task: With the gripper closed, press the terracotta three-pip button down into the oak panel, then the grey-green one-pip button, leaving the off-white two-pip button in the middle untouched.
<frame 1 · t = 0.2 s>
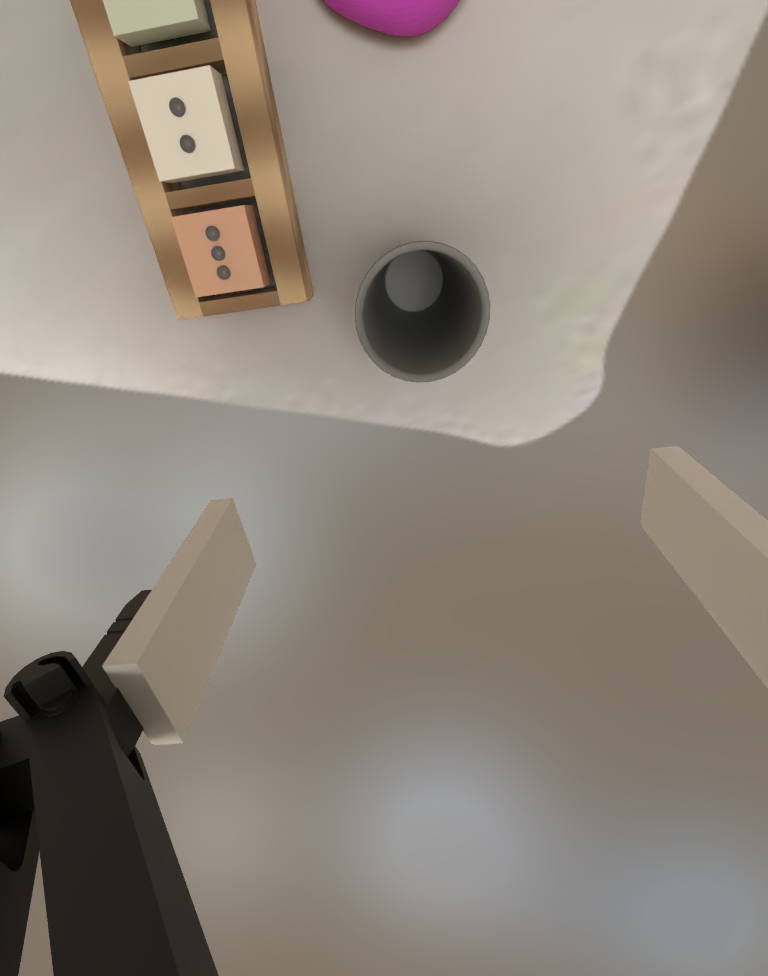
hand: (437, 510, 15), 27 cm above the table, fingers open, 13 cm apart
button 2: (189, 128, 30), point 4 cm above the table, slide at 0.0 cm
button 3: (223, 252, 33), point 4 cm above the table, slide at 0.0 cm
panel: (208, 136, 33), on the table
cup: (413, 280, 37), on the table
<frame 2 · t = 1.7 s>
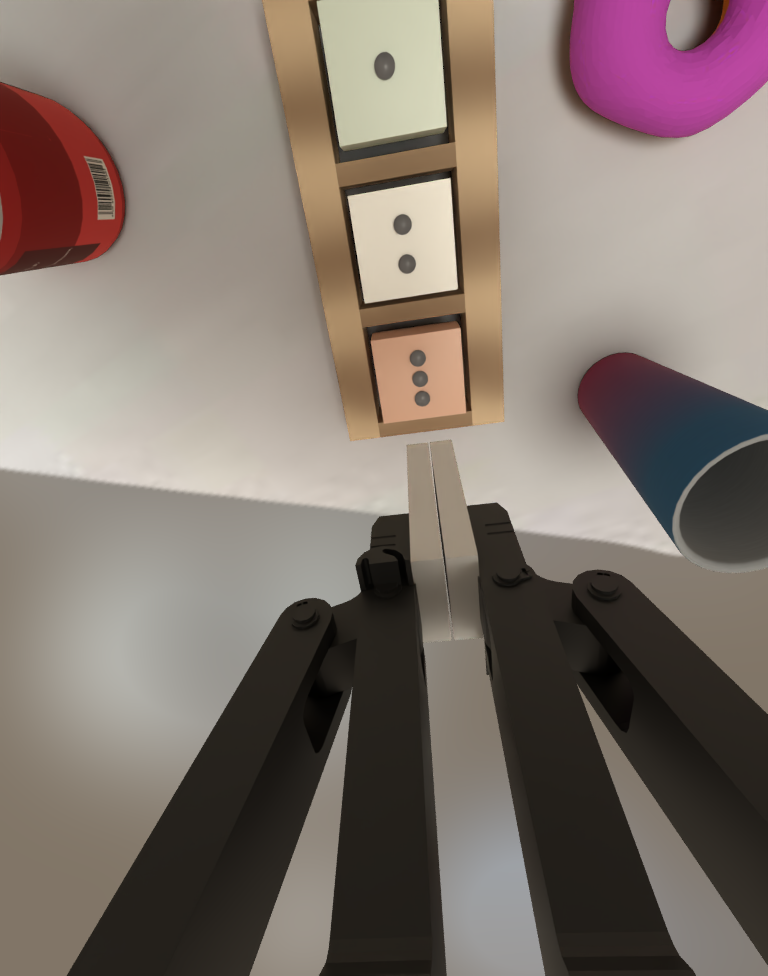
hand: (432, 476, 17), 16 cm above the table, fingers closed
button 2: (404, 243, 25), point 4 cm above the table, slide at 0.0 cm
button 3: (419, 373, 29), point 4 cm above the table, slide at 0.0 cm
button 1: (385, 72, 22), point 4 cm above the table, slide at 0.0 cm
panel: (404, 240, 28), on the table
canned food: (63, 184, 27), on the table
cup: (614, 388, 33), on the table
donut: (669, 13, 23), on the table
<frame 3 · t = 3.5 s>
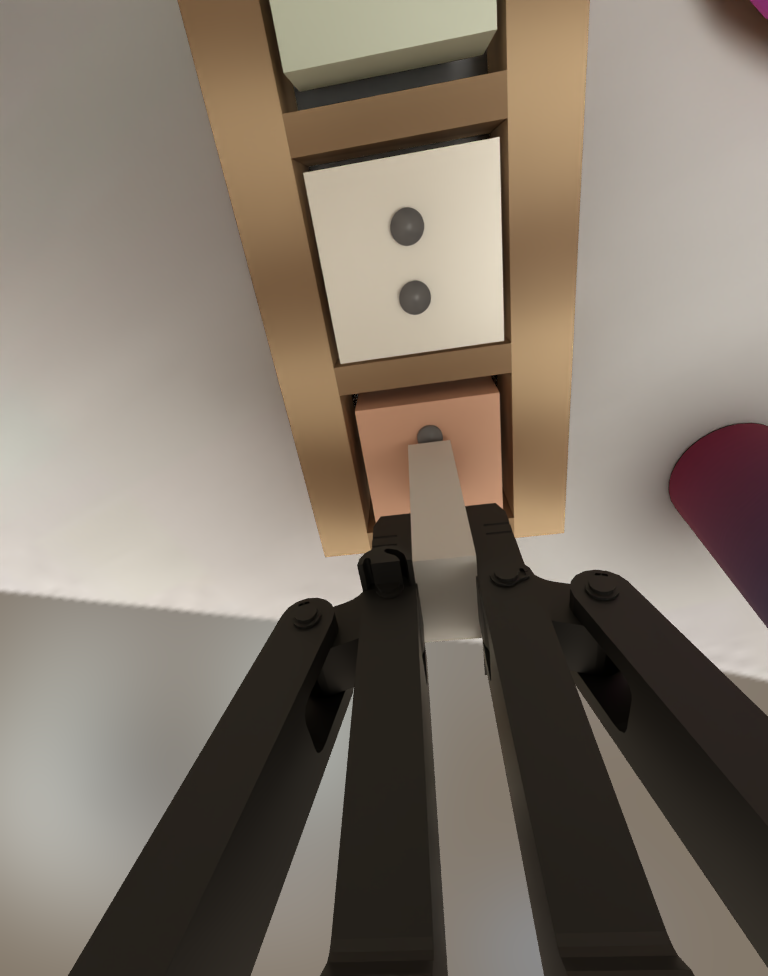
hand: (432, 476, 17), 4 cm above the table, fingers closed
button 2: (410, 259, 14), point 4 cm above the table, slide at 0.0 cm
button 3: (431, 454, 19), point 2 cm above the table, slide at 1.1 cm, touching gripper
panel: (408, 250, 17), on the table
cup: (724, 472, 22), on the table
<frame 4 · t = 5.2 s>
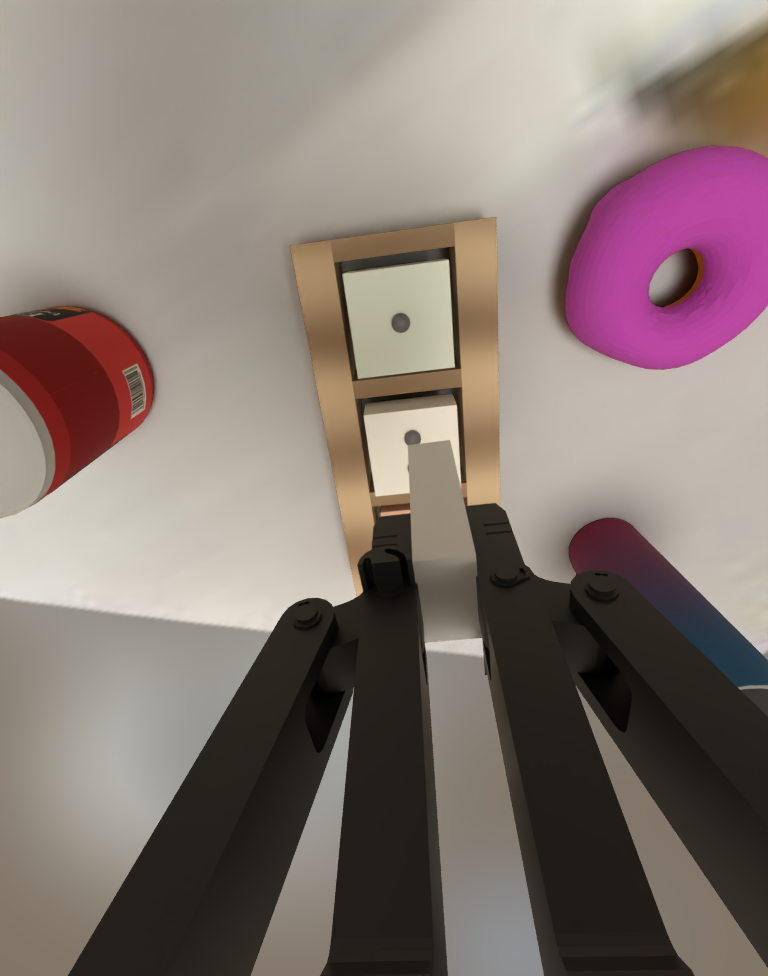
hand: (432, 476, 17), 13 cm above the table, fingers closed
button 2: (413, 446, 28), point 4 cm above the table, slide at 0.0 cm
button 3: (422, 533, 32), point 2 cm above the table, slide at 1.5 cm
button 1: (400, 319, 24), point 4 cm above the table, slide at 0.0 cm
panel: (411, 425, 31), on the table
canned food: (96, 371, 30), on the table
cup: (602, 545, 35), on the table
donut: (652, 264, 27), on the table
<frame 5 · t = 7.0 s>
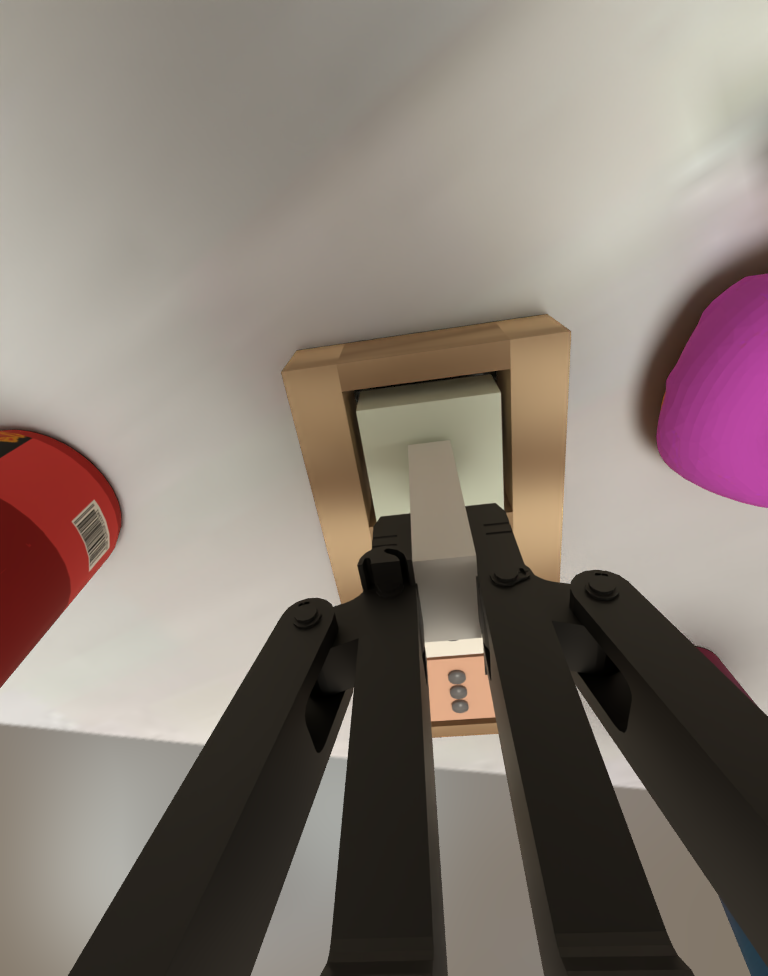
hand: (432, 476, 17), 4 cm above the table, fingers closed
button 2: (448, 600, 21), point 4 cm above the table, slide at 0.0 cm
button 3: (456, 675, 26), point 2 cm above the table, slide at 1.5 cm
button 1: (432, 454, 19), point 3 cm above the table, slide at 0.7 cm, touching gripper
panel: (442, 551, 24), on the table
canned food: (49, 496, 24), on the table
cup: (674, 671, 29), on the table
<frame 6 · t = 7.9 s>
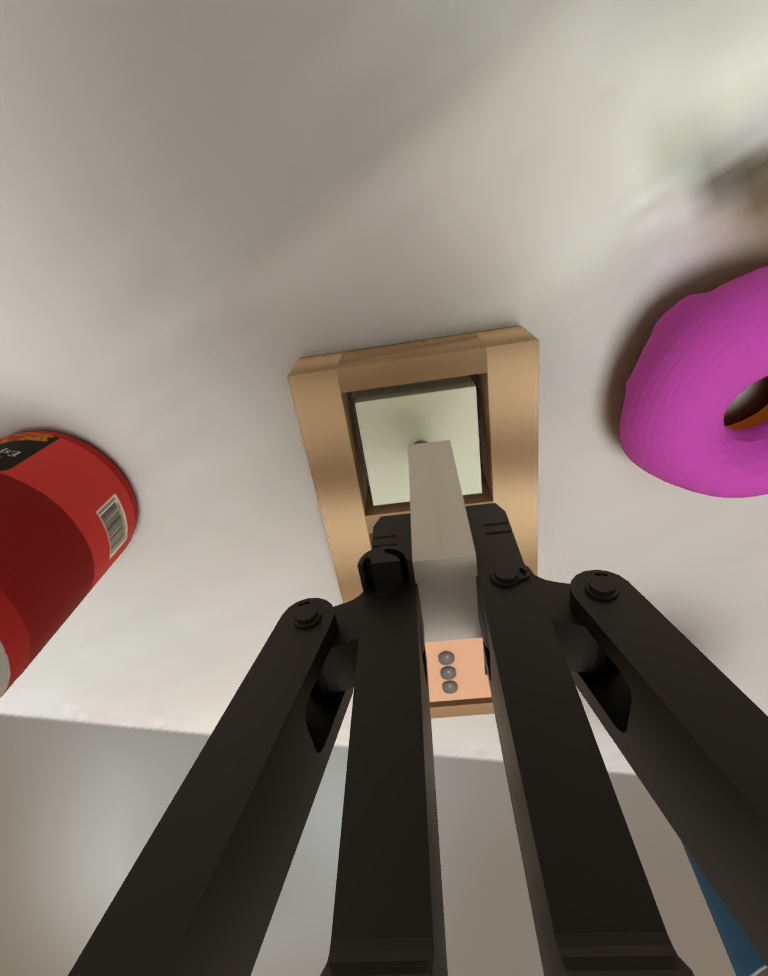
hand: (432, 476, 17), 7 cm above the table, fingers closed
button 3: (446, 658, 28), point 2 cm above the table, slide at 1.5 cm
button 1: (420, 441, 22), point 2 cm above the table, slide at 1.5 cm
panel: (432, 541, 27), on the table
canned food: (71, 492, 26), on the table
cup: (649, 656, 31), on the table
donut: (721, 372, 22), on the table
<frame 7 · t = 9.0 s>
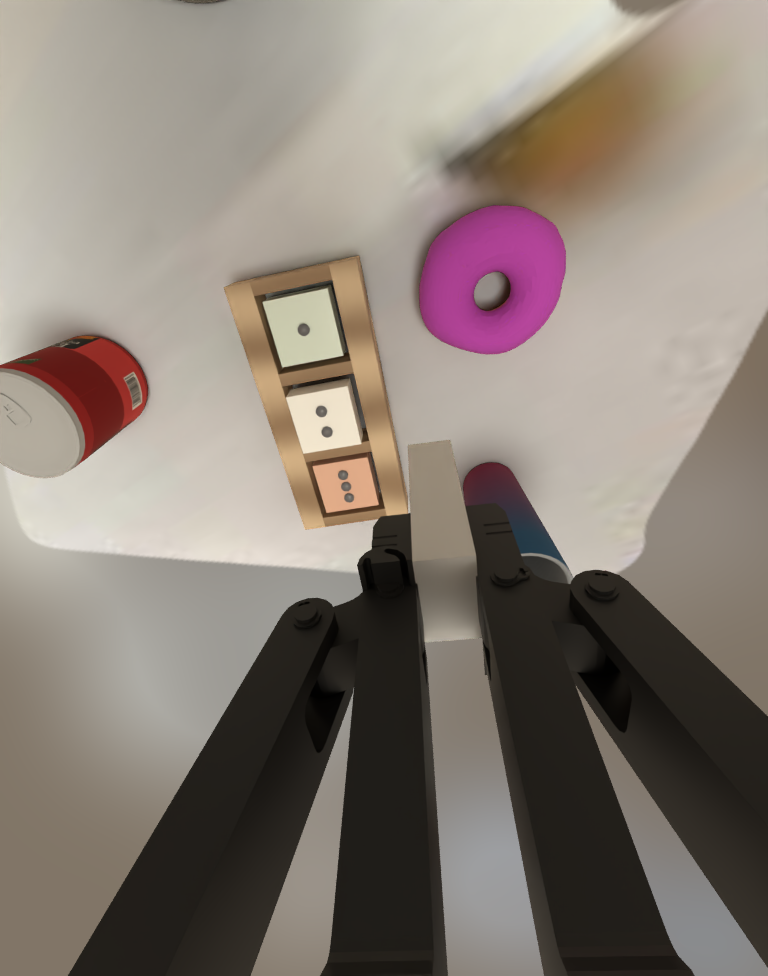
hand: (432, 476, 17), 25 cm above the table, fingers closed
button 2: (326, 417, 39), point 4 cm above the table, slide at 0.0 cm
button 3: (347, 480, 44), point 2 cm above the table, slide at 1.5 cm
button 1: (306, 326, 37), point 2 cm above the table, slide at 1.5 cm
panel: (331, 402, 43), on the table
canned food: (107, 378, 42), on the table
cup: (488, 484, 46), on the table
donut: (485, 279, 38), on the table
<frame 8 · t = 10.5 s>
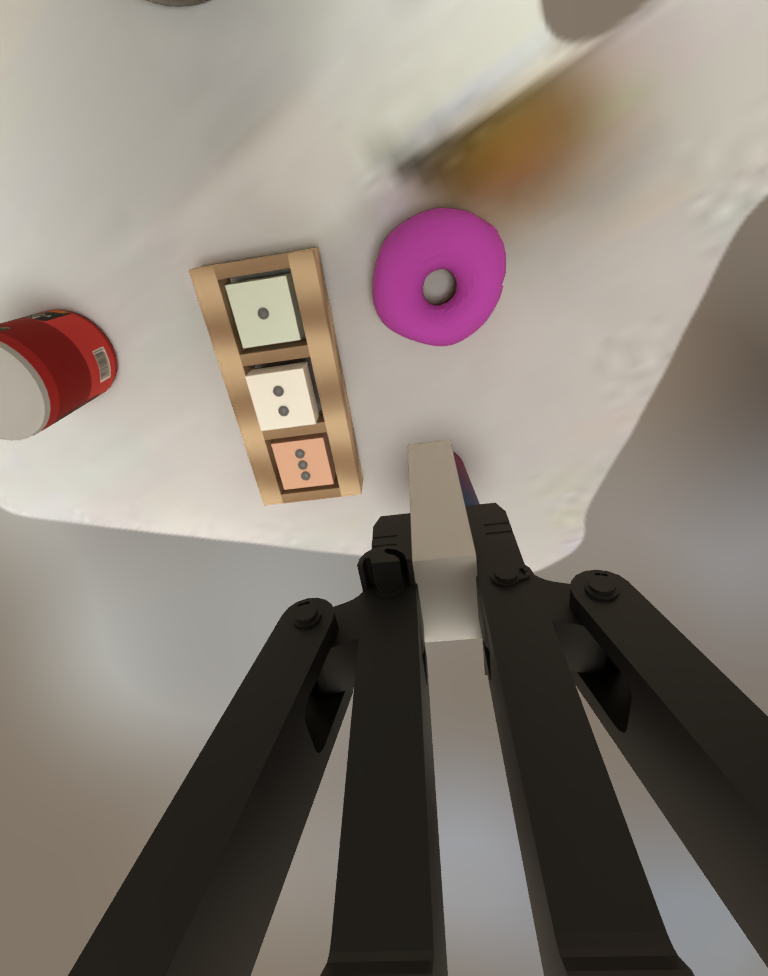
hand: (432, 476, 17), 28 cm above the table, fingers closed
button 2: (283, 397, 42), point 4 cm above the table, slide at 0.0 cm
button 3: (304, 460, 47), point 2 cm above the table, slide at 1.5 cm
button 1: (266, 311, 40), point 2 cm above the table, slide at 1.5 cm
panel: (291, 384, 45), on the table
canned food: (78, 352, 44), on the table
cup: (439, 469, 49), on the table
donut: (436, 276, 41), on the table
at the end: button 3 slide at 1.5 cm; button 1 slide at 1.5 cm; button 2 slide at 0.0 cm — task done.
